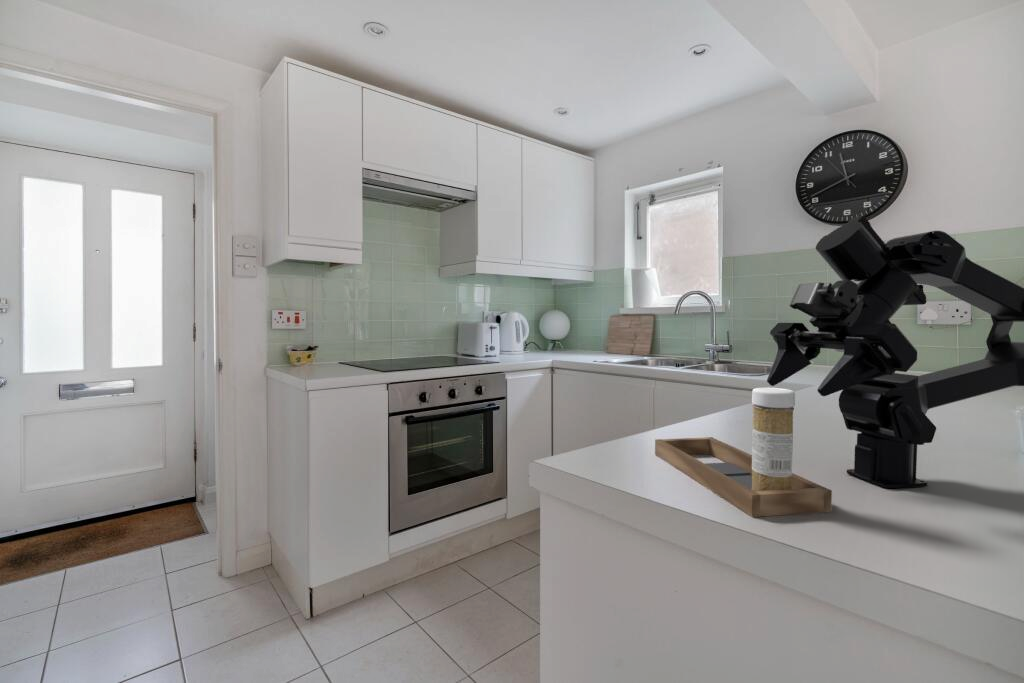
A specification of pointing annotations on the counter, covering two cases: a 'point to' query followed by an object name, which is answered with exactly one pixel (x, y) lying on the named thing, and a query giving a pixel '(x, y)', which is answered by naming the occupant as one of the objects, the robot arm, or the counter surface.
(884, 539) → the counter surface
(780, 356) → the robot arm
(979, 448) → the counter surface
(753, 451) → the spice jar
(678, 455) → the box
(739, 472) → the mats
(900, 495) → the counter surface
